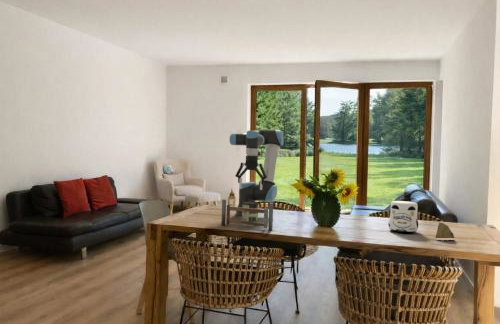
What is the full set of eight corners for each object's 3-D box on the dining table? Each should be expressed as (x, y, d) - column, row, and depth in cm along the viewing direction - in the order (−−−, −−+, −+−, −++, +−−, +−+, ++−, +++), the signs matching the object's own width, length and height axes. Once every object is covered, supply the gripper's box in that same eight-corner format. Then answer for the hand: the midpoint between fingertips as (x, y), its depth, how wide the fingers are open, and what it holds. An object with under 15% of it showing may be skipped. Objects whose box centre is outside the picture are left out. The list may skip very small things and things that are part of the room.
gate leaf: (227, 224, 261) (227, 204, 260) (267, 227, 253) (268, 208, 252) (225, 224, 259) (226, 205, 258) (266, 228, 251) (267, 208, 251)
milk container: (397, 235, 250) (399, 204, 249) (382, 228, 267) (384, 200, 266) (423, 234, 253) (425, 204, 252) (407, 228, 270) (409, 200, 269)
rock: (456, 235, 242) (438, 231, 247) (458, 225, 237) (439, 221, 242) (452, 249, 235) (433, 244, 240) (454, 239, 230) (434, 234, 235)
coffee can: (259, 223, 271) (259, 201, 270) (256, 226, 261) (256, 203, 260) (243, 222, 273) (244, 200, 272) (239, 225, 263) (240, 202, 262)
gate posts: (222, 225, 262) (223, 199, 261) (272, 230, 252) (273, 203, 252) (220, 225, 260) (221, 199, 259) (271, 230, 250) (272, 203, 249)
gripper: (231, 154, 265) (230, 188, 266) (269, 156, 257) (268, 190, 258) (235, 154, 272) (234, 187, 273) (272, 156, 265) (271, 189, 266)
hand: (250, 189), depth 266 cm, fingers open, 13 cm apart
